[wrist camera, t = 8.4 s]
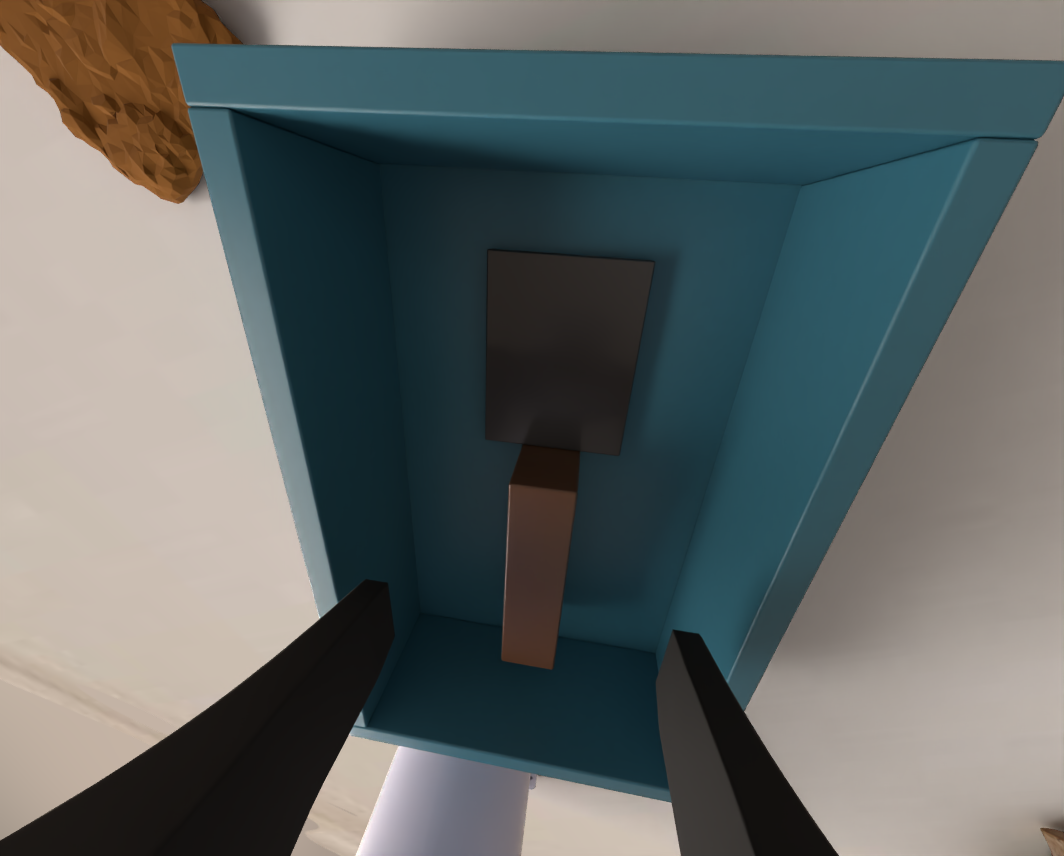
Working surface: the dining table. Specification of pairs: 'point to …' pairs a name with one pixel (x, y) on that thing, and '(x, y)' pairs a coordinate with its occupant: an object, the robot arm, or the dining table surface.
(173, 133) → the primitive tool
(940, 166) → the bin
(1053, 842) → the mushroom
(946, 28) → the dining table surface
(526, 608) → the scraper
